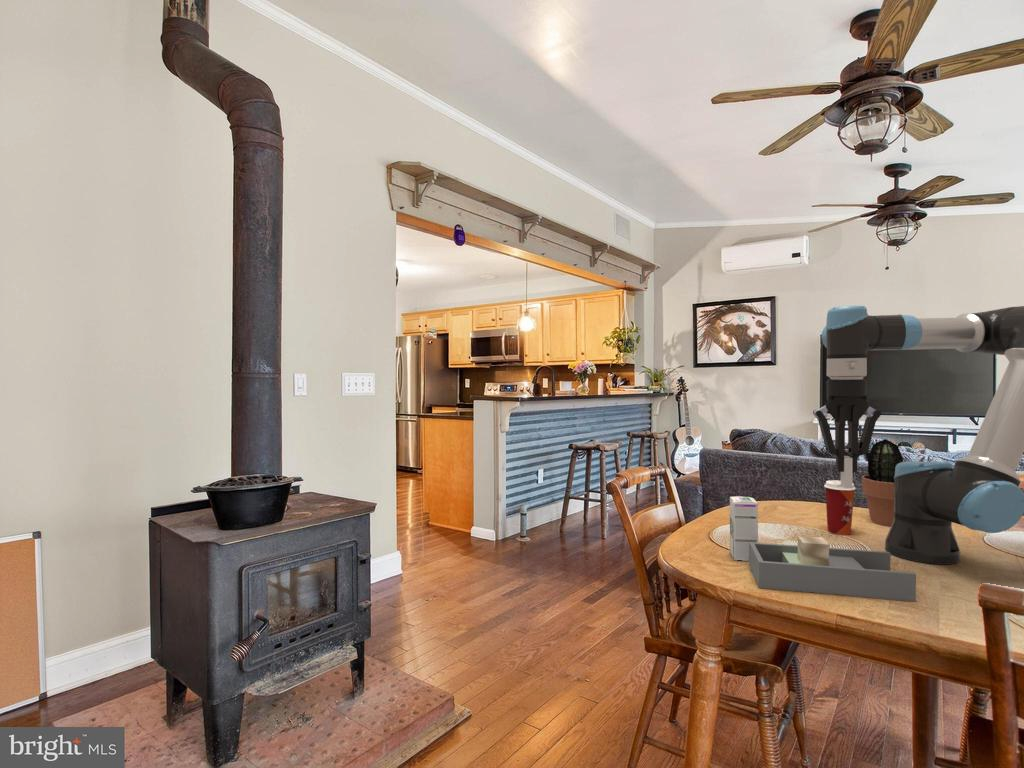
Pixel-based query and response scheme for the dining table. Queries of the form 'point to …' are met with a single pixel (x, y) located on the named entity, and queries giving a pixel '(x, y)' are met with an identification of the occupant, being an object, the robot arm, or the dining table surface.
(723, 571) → the dining table surface
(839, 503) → the paper cup
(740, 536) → the syrup box
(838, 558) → the trap lane
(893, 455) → the potted plant
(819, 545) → the birch block
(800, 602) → the dining table surface
